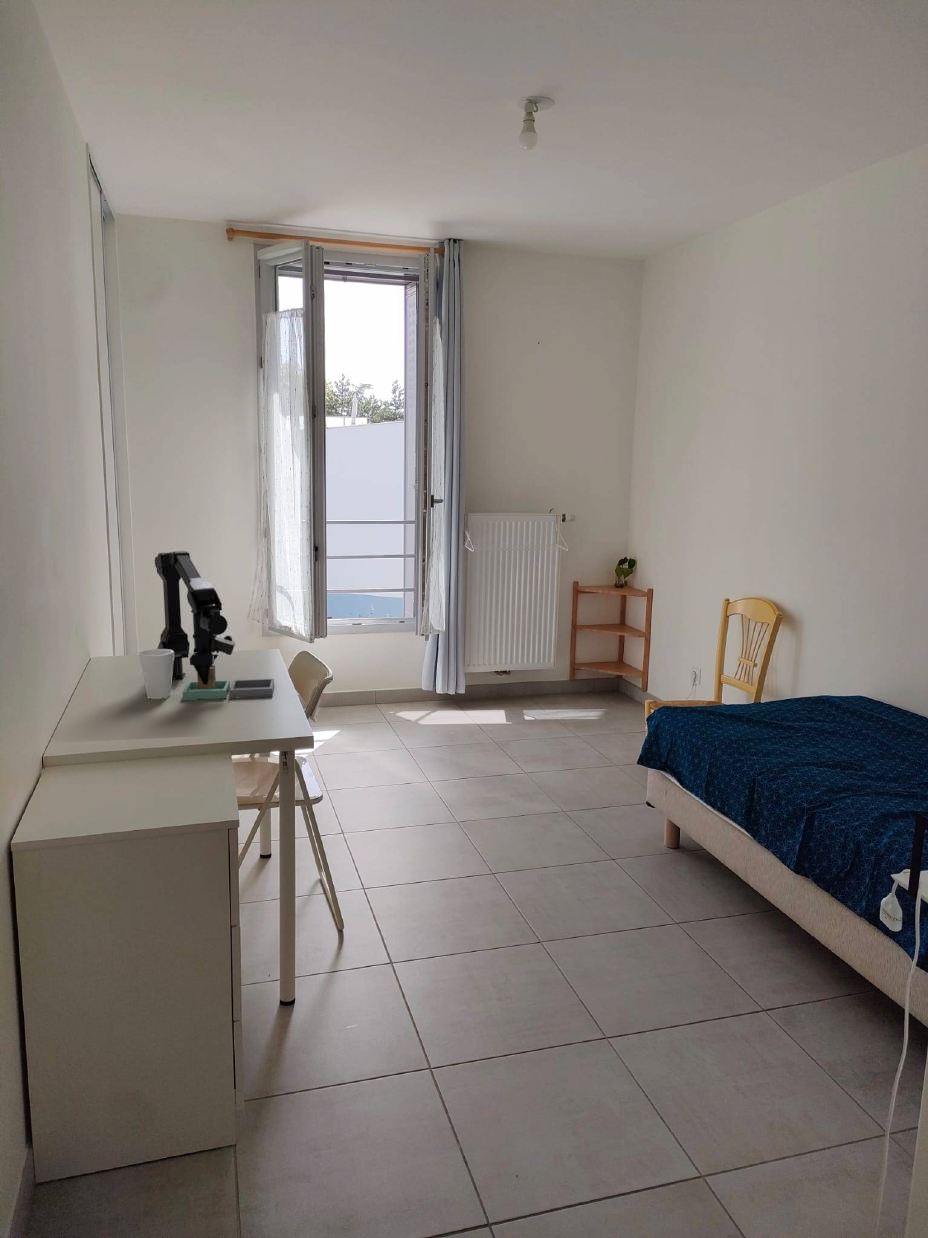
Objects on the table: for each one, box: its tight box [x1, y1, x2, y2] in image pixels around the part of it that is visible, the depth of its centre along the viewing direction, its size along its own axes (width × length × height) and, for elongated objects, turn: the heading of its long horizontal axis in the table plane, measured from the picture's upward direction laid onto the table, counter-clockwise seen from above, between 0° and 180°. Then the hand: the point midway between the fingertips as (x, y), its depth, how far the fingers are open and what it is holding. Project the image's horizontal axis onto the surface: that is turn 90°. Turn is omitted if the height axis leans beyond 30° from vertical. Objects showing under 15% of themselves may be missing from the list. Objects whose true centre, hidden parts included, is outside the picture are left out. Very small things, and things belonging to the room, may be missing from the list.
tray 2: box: [229, 678, 275, 699], centre depth 259 cm, size 12×12×2 cm
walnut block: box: [196, 664, 217, 690], centre depth 256 cm, size 4×4×6 cm
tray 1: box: [182, 680, 231, 701], centre depth 257 cm, size 12×12×2 cm
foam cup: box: [138, 648, 174, 700], centre depth 254 cm, size 10×9×13 cm
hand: (206, 682), depth 256 cm, fingers closed on walnut block, 4 cm apart
